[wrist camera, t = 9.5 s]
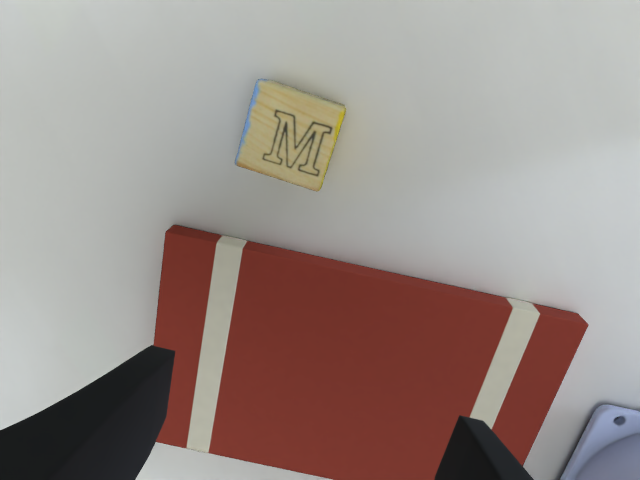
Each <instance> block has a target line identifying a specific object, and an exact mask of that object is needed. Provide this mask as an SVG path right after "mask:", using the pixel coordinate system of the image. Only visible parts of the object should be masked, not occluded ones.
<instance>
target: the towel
mask: <svg viewBox="0 0 640 480" xmlns="http://www.w3.org/2000/svg"><path fill="white" fill-rule="evenodd" d="M587 327H588V323H587V322H586V321H585V320H584V319H583V318H582V317H581V316H580V315H579V314H577V313H573V312H568V311H564V310H559V309H555V308H550V307H546V306H541V305H537V304H532V303H530V302H526V301H521V300H517V299H512V298H507V297H500V296H496V295H491V294H487V293H482V292H478V291H473V290H468V289H464V288H459V287H455V286H450V285H446V284H441V283H437V282H432V281H428V280H423V279H419V278H414V277H409V276H405V275H400V274H396V273H391V272H387V271H382V270H378V269H373V268H369V267H364V266H359V265H355V264H350V263H346V262H341V261H337V260H332V259H328V258H323V257H319V256H314V255H309V254H305V253H300V252H296V251H291V250H287V249H282V248H278V247H273V246H269V245H264V244H260V243H255V242H250V241H247V240H243V239H238V238H234V237H229V236H224V235H219V234H214V233H210V232H205V231H200V230H196V229H191V228H187V227H182V226H178V225H173V226H172V227H171V228H170V229H168V230H167V231H166V233H165V243H164V252H163V261H162V271H161V280H160V290H159V299H158V308H157V318H156V327H155V337H154V346H157V347H161V348H165V349H170V350H174V351H175V358H174V365H173V372H172V380H171V387H170V394H169V401H168V409H167V416H166V419H165V421H164V424H163V426H162V428H161V430H160V433H159V435H158V437H157V440H156V442H159V443H164V444H168V445H173V446H178V447H182V448H187V449H191V450H195V451H200V452H205V453H211V454H215V455H220V456H225V457H230V458H234V459H239V460H244V461H248V462H253V463H258V464H263V465H267V466H272V467H277V468H282V469H286V470H291V471H296V472H300V473H305V474H310V475H315V476H319V477H324V478H329V479H333V480H435V475H436V472H437V470H438V467H439V465H440V462H441V460H442V457H443V455H444V452H445V450H446V447H447V445H448V442H449V440H450V437H451V435H452V432H453V430H454V427H455V425H456V422H457V420H458V417H459V415H461V416H465V417H470V418H474V419H478V420H483V421H484V422H485V423H486V424H487V425H488V426H489V427H490V429H491V430H492V431H493V432H494V433H495V434H496V435H497V437H498V438H499V439H500V440H501V441H502V443H503V444H504V445H505V446H506V447H507V448H508V450H509V451H510V452H511V453H512V454H513V456H514V457H515V458H516V459H517V460H518V462H519V463H520V464H521V465H522V466H523V464H524V462H525V460H526V458H527V456H528V454H529V451H530V449H531V447H532V445H533V443H534V441H535V439H536V436H537V434H538V432H539V430H540V428H541V426H542V424H543V421H544V419H545V417H546V415H547V413H548V411H549V409H550V406H551V404H552V402H553V400H554V398H555V396H556V394H557V391H558V389H559V387H560V385H561V383H562V381H563V379H564V376H565V374H566V372H567V370H568V368H569V366H570V364H571V361H572V359H573V357H574V355H575V353H576V351H577V349H578V346H579V344H580V342H581V340H582V338H583V336H584V333H585V331H586V329H587Z"/></svg>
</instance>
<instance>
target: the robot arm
mask: <svg viewBox="0 0 640 480" xmlns="http://www.w3.org/2000/svg"><path fill="white" fill-rule="evenodd" d="M174 358H175V351H174V350H170V349H165V348H161V347H157V346H152V345H151V346H149V347H148V348H146V349H144V350H143V351H141V352H139V353H138V354H136V355H135V356H133V357H132V358H130V359H129V360H127V361H126V362H124V363H122V364H121V365H119V366H118V367H116V368H115V369H113V370H112V371H110V372H108V373H107V374H105V375H104V376H102V377H100V378H99V379H97V380H95V381H94V382H92V383H90V384H89V385H87V386H85V387H84V388H82V389H80V390H79V391H77V392H75V393H74V394H72V395H70V396H68V397H66V398H65V399H63V400H61V401H59V402H57V403H55V404H54V405H52V406H50V407H48V408H46V409H44V410H43V411H41V412H39V413H37V414H35V415H33V416H31V417H29V418H27V419H25V420H22V421H20V422H18V423H16V424H14V425H12V426H9V427H7V428H5V429H3V430H0V480H135V479H136V477H137V475H138V474H139V472H140V470H141V469H142V467H143V465H144V464H145V462H146V460H147V458H148V457H149V455H150V453H151V450H152V448H153V446H154V444H155V442H156V440H157V437H158V435H159V433H160V430H161V428H162V426H163V424H164V421H165V419H166V416H167V409H168V401H169V394H170V387H171V380H172V372H173V365H174ZM618 416H620V417H619V418H618V419H615V418H616V417H618ZM435 480H534V479H533V478H532V477H531V476H530V475H529V473H528V472H527V471H526V470H525V469H524V468H523V466H522V465H521V464H520V463H519V462H518V460H517V459H516V458H515V457H514V456H513V454H512V453H511V452H510V451H509V450H508V448H507V447H506V446H505V445H504V444H503V443H502V441H501V440H500V439H499V438H498V437H497V435H496V434H495V433H494V432H493V431H492V430H491V429H490V427H489V426H488V425H487V424H486V423H485V422H484V421H483V420H478V419H474V418H470V417H465V416H461V415H459V417H458V420H457V422H456V425H455V427H454V430H453V432H452V435H451V437H450V440H449V442H448V445H447V447H446V450H445V452H444V455H443V457H442V460H441V462H440V465H439V467H438V470H437V472H436V475H435ZM560 480H640V411H636V410H631V409H627V408H622V407H618V406H613V405H601V406H599V407H598V408H597V409H596V410H595V411H594V413H593V415H592V417H591V419H590V421H589V423H588V425H587V427H586V429H585V431H584V433H583V435H582V437H581V439H580V441H579V443H578V445H577V447H576V449H575V451H574V453H573V455H572V457H571V459H570V461H569V463H568V464H567V466H566V468H565V470H564V472H563V474H562V476H561V478H560Z"/></svg>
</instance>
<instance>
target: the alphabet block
mask: <svg viewBox="0 0 640 480" xmlns="http://www.w3.org/2000/svg"><path fill="white" fill-rule="evenodd" d="M345 112H346V108H345V106H344V105H342V104H340V103H336V102H334V101H331V100H327V99H325V98H322V97H319V96H316V95H313V94H310V93H307V92H304V91H301V90H298V89H295V88H292V87H289V86H286V85H283V84H280V83H277V82H275V81H272V80H267V79H258V81H257V82H256V85H255V88H254V92H253V96H252V99H251V103H250V107H249V111H248V115H247V119H246V122H245V127H244V130H243V134H242V137H241V142H240V146H239V150H238V153H237V156H236V160H235V164H236V165H237V166H239V167H243V168H246V169H249V170H253V171H256V172H259V173H262V174H265V175H268V176H271V177H274V178H277V179H280V180H283V181H286V182H289V183H292V184H295V185H299V186H302V187H305V188H308V189H311V190H314V191H319V190H320V189H321V187H322V184H323V180H324V177H325V174H326V171H327V168H328V164H329V161H330V158H331V155H332V152H333V149H334V146H335V143H336V140H337V136H338V134H339V131H340V127H341V124H342V121H343V118H344V115H345Z"/></svg>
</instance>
